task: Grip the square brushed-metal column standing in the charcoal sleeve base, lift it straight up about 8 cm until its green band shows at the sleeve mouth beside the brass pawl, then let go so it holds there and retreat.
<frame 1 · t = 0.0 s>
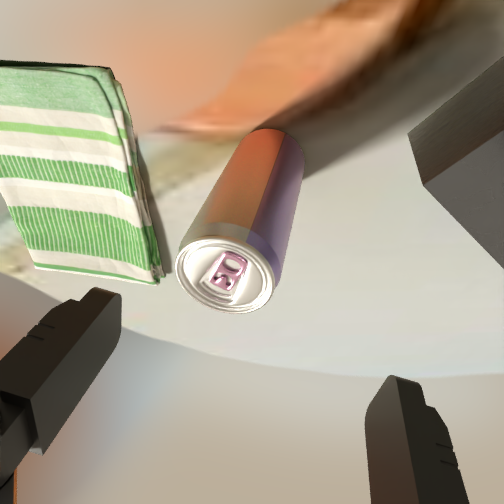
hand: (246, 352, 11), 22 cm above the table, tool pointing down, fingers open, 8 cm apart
dish towel: (75, 182, 38), on the table
beverage can: (271, 159, 31), on the table
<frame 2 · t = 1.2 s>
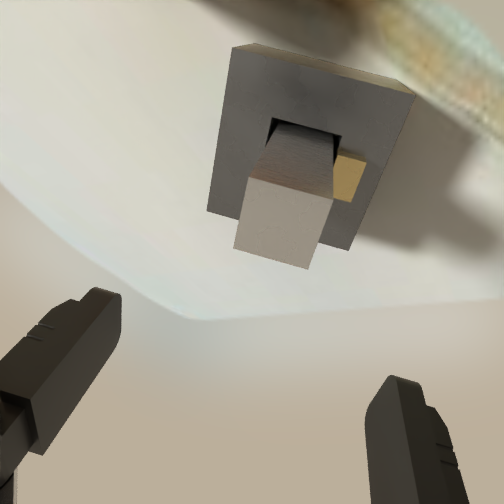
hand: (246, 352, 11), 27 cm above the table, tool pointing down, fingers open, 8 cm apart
column: (295, 166, 25), point 9 cm above the table, slide at 0.0 cm
sleeve base: (304, 134, 33), on the table
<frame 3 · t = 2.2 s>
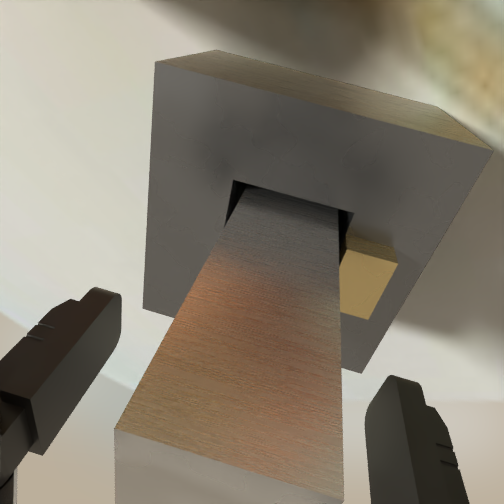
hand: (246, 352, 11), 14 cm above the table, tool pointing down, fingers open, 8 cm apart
column: (273, 263, 15), point 9 cm above the table, slide at 0.0 cm
sleeve base: (294, 181, 22), on the table
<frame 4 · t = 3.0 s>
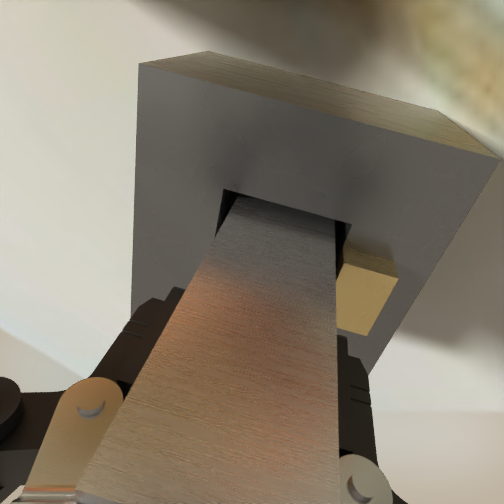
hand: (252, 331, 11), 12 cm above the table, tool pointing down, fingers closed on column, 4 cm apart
column: (267, 277, 14), point 9 cm above the table, slide at 0.0 cm, touching gripper
sleeve base: (290, 188, 22), on the table
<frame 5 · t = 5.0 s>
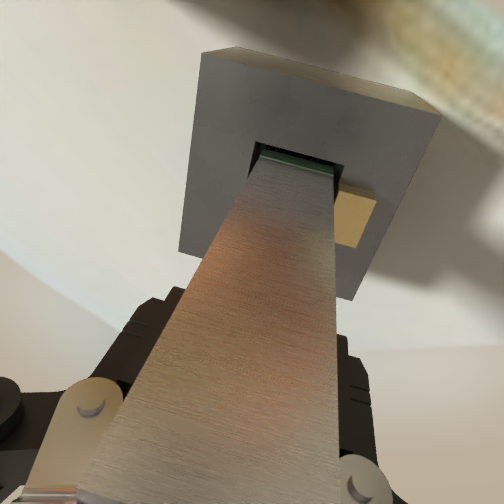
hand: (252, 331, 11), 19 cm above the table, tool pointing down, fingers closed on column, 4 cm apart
column: (266, 277, 14), point 16 cm above the table, slide at 7.0 cm, touching gripper
sleeve base: (298, 154, 27), on the table
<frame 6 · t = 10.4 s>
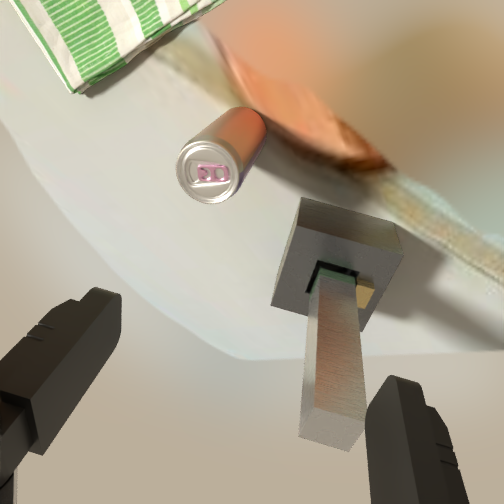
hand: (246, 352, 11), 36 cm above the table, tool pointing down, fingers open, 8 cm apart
beverage can: (243, 131, 43), on the table
column: (331, 342, 34), point 18 cm above the table, slide at 8.4 cm
sleeve base: (331, 248, 49), on the table
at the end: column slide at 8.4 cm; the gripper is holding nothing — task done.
